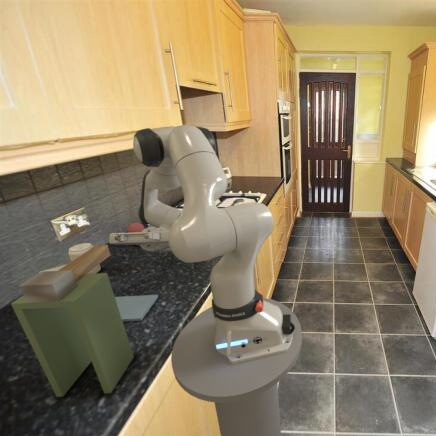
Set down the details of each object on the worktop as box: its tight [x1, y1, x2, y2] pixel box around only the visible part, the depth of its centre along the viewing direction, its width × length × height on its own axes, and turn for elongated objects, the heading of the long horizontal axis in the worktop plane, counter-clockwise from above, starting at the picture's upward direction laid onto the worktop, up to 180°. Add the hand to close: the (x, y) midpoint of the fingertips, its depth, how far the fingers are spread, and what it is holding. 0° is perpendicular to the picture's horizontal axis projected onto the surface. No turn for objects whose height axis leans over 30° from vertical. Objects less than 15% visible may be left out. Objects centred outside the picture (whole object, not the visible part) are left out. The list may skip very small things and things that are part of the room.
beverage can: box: [68, 242, 102, 274], centre depth 109 cm, size 8×8×12 cm
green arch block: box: [10, 272, 135, 398], centre depth 61 cm, size 12×10×26 cm
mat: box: [114, 294, 159, 323], centre depth 89 cm, size 16×12×1 cm
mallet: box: [18, 244, 111, 303], centre depth 60 cm, size 6×19×4 cm, turn 4°
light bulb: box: [127, 222, 145, 246], centre depth 132 cm, size 7×7×12 cm
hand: (131, 236), depth 84 cm, fingers open, 8 cm apart
